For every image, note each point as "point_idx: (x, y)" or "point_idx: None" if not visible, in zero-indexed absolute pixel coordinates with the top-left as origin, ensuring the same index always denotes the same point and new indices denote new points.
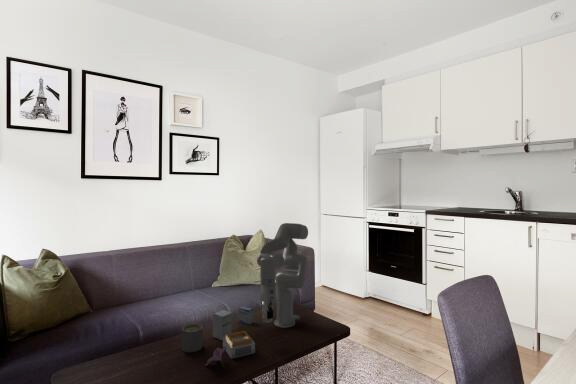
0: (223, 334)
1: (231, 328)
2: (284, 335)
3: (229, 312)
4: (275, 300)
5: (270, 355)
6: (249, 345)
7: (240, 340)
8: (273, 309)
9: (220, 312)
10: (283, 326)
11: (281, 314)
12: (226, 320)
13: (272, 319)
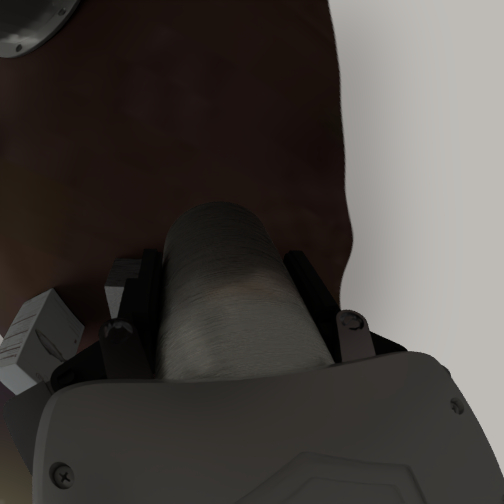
0: (75, 334)
1: (42, 308)
2: (148, 41)
3: (13, 369)
4: (463, 409)
5: (298, 212)
6: None
7: None
8: (367, 323)
9: (18, 391)
10: (66, 16)
11: (13, 12)
12: (50, 367)
13: (261, 225)
